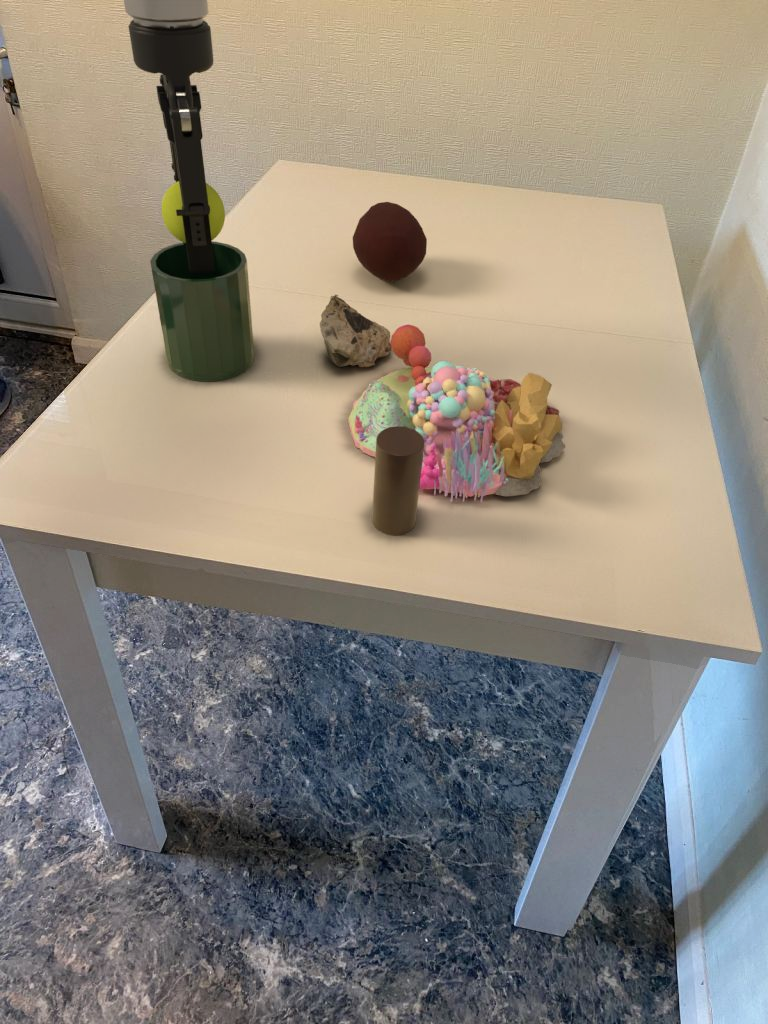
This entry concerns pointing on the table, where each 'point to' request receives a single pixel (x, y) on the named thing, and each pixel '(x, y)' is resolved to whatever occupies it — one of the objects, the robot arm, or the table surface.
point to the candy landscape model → (462, 422)
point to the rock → (352, 335)
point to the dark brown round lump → (389, 241)
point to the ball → (174, 202)
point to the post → (397, 479)
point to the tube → (204, 313)
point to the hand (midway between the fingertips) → (198, 255)
